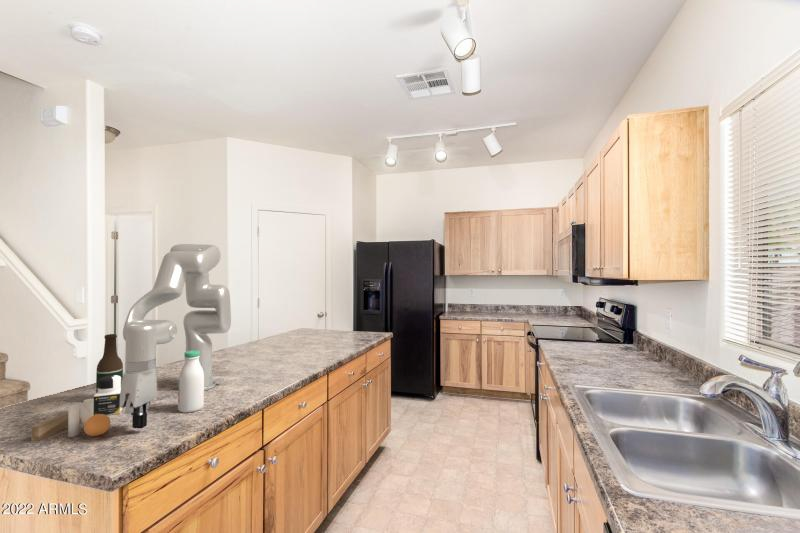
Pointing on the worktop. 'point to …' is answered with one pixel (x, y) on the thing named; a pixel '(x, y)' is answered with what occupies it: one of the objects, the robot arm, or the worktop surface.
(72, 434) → the pin
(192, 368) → the milk bottle
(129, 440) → the worktop surface
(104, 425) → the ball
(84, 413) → the pin front
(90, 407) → the pin
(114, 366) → the beer bottle
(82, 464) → the worktop surface
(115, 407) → the medicine bottle
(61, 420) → the bar
